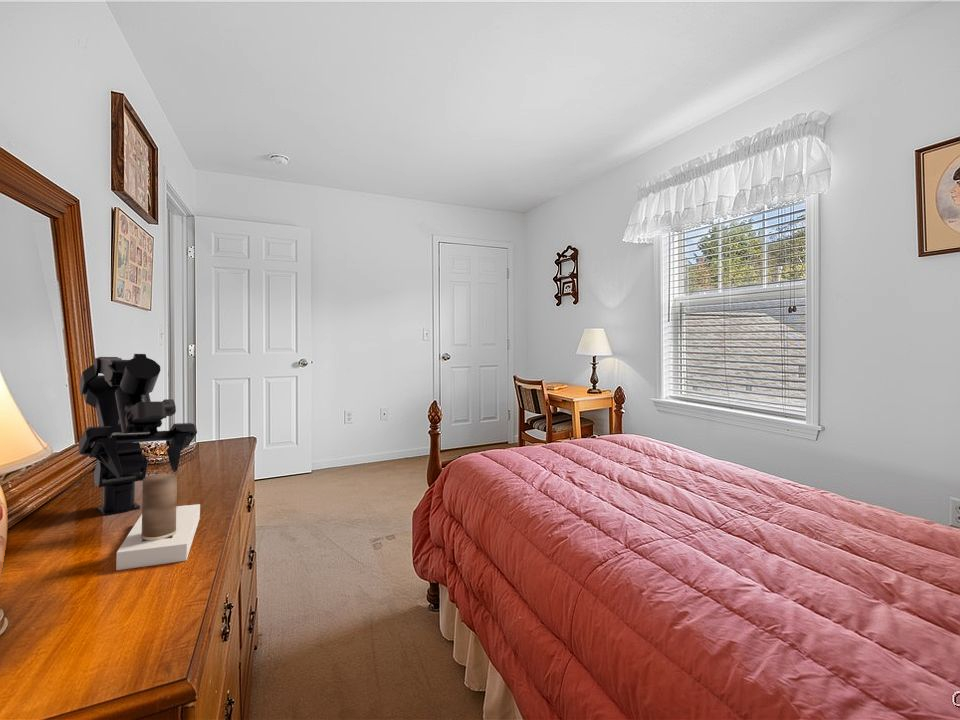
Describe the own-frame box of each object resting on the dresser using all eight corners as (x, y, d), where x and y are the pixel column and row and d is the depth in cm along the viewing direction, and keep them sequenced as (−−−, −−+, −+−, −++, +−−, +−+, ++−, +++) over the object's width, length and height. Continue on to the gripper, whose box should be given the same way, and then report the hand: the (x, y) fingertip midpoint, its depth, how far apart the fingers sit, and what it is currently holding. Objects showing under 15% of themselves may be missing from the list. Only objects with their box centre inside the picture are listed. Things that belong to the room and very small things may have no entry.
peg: (134, 550, 85) (135, 479, 84) (164, 540, 89) (165, 472, 89) (153, 556, 83) (154, 483, 82) (182, 545, 87) (184, 476, 87)
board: (144, 523, 98) (144, 509, 98) (199, 517, 103) (200, 504, 102) (116, 570, 78) (116, 552, 78) (186, 560, 83) (186, 543, 83)
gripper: (89, 384, 87) (101, 456, 80) (198, 386, 102) (216, 447, 95) (73, 419, 92) (83, 490, 85) (179, 416, 106) (195, 476, 100)
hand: (149, 474), depth 91 cm, fingers open, 9 cm apart
